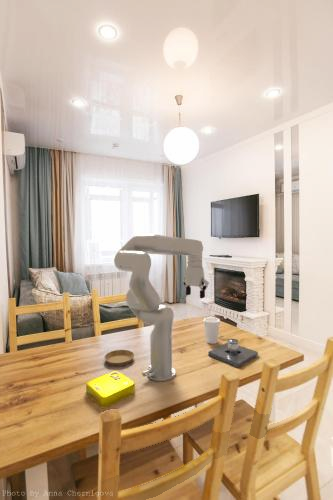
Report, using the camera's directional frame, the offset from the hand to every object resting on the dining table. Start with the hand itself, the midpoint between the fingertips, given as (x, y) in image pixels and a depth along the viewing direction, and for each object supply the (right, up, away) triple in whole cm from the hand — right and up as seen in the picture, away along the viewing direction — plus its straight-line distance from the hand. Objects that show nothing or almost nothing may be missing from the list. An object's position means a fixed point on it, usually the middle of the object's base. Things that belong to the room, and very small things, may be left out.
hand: (195, 296), depth 139 cm
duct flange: (+19, -30, -3) cm, 36 cm away
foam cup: (+11, -30, +16) cm, 36 cm away
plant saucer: (-39, -32, -6) cm, 50 cm away
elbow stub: (+19, -30, -3) cm, 36 cm away
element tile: (-38, -33, -34) cm, 60 cm away
